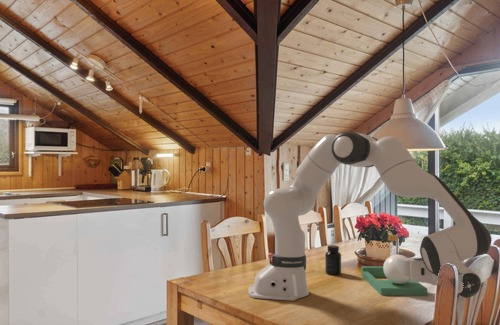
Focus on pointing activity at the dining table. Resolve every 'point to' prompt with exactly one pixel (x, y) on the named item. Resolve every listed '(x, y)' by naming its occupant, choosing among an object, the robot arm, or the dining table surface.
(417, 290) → the putting mat
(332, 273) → the supplement bottle
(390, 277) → the ball
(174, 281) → the dining table surface
